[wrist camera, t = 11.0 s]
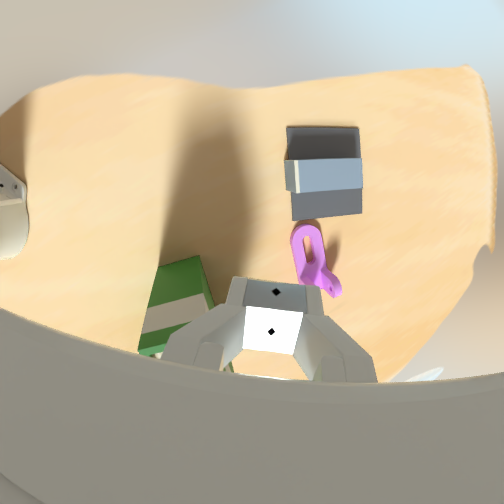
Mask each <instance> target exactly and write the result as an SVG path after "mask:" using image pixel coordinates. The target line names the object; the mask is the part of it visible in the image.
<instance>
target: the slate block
mask: <svg viewBox="0 0 504 504" xmlns="http://www.w3.org/2000/svg"><path fill="white" fill-rule="evenodd" d="M284 167H285V181H286V190H287V191H291V192H294V193H304V192H316V191H328V190H342V189H357V188H363V176H362V158H324V159H301V160H284Z"/></svg>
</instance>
